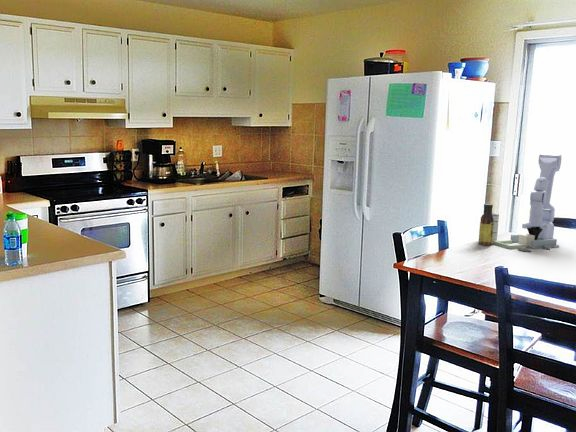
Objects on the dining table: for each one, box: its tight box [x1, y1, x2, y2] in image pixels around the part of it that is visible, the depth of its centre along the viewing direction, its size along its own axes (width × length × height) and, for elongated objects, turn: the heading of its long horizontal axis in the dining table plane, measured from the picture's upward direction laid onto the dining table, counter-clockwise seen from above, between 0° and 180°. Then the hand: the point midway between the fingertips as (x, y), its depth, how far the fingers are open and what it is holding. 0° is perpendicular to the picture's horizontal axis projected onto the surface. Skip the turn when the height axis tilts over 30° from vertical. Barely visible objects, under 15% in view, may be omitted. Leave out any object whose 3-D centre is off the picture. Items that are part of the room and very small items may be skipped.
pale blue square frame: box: [510, 233, 558, 249], centre depth 271 cm, size 15×14×4 cm
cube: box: [517, 233, 535, 247], centre depth 269 cm, size 5×5×5 cm
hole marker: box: [516, 248, 532, 253], centre depth 256 cm, size 6×6×1 cm
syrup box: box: [492, 211, 500, 243], centre depth 273 cm, size 6×6×14 cm
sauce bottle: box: [478, 203, 494, 247], centre depth 264 cm, size 7×6×20 cm
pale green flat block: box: [492, 239, 528, 250], centre depth 265 cm, size 10×11×2 cm
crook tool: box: [541, 244, 560, 251], centre depth 263 cm, size 10×4×1 cm, turn 112°
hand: (533, 242), depth 271 cm, fingers closed
